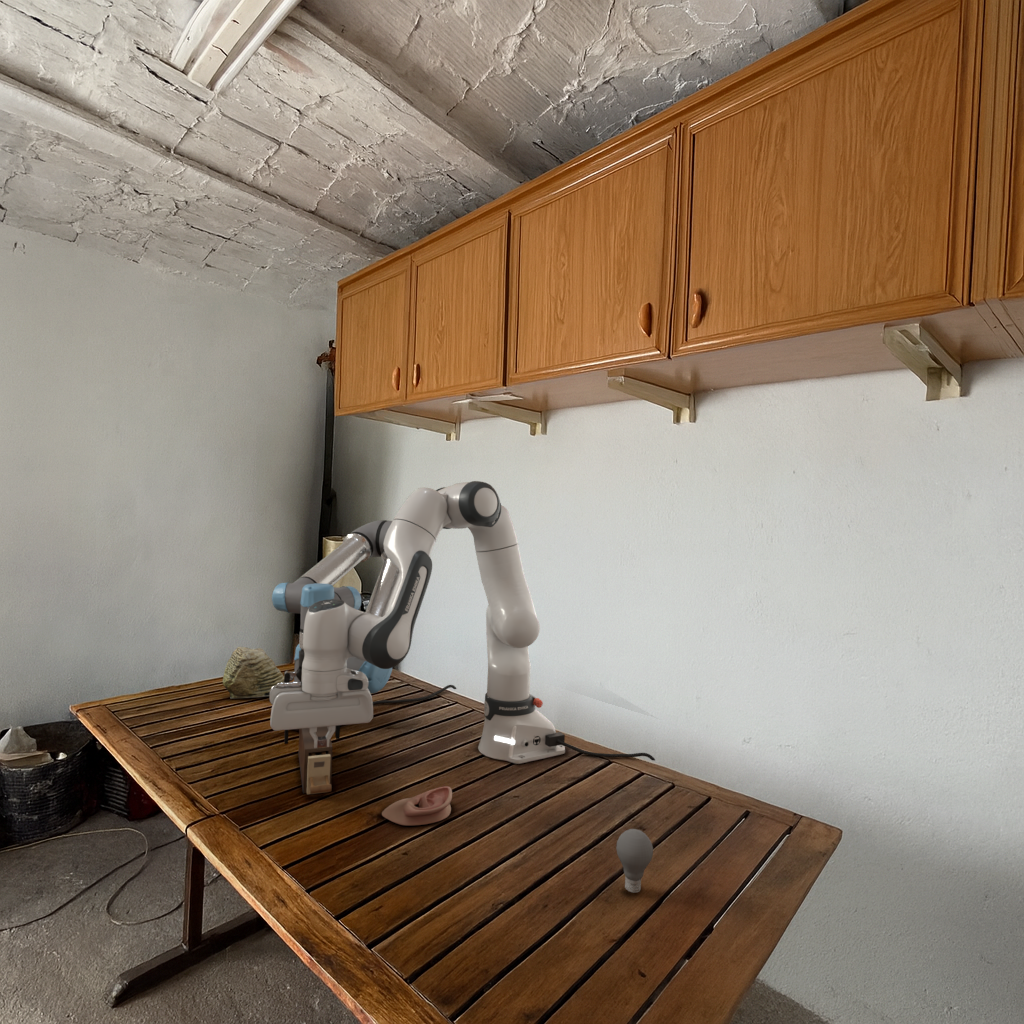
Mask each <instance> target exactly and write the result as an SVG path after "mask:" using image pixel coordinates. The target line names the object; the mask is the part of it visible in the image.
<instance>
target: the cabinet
mask: <svg viewBox="0 0 1024 1024" xmlns="http://www.w3.org/2000/svg"><path fill="white" fill-rule="evenodd" d="M328 731H329V730H328V727H327V726H325V727H317V732H315V733H316V735H317V737H323V736H326V734H327V733H328ZM322 751H325V752H326V754H330V756H331V760H330V784H331V785H332V769H333V744H332V739H331V738H330V741H329V747H323V748H314V739H313V738H312V736H311V734H310V732H309V728H302V729H299V731H298V762H299V771H300V780H301V788H302V789H301V790H302V794H307V769H308V756H309V753H312V752H322Z"/></svg>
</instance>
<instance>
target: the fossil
mask: <svg viewBox="0 0 1024 1024" xmlns="http://www.w3.org/2000/svg"><path fill="white" fill-rule="evenodd" d="M222 676H223V677H222V685H223V687H224V688H225V690H226V691H228V693H229V698H230V699H250V698H264V697H269V693H270V690H271V688H272V687H273V686H275V685H278V683H281V682H283V681H284V674H283V673H282V672H281V669H279V668H278V667H277V665H276V663H275V662H274V660H273V659H272V658H271V657H270V656H269V655H268V654H267V653H266V652H265V650H264V649H263V648H260V647H258V648H251V647H247V646H246V647H245V646H238V647H237V648H236V649H235V650H233V651H232V653H231V656H230V657H229V659H228V660H227V663H226V666H225V668H224V671H223V675H222ZM275 688H278V687H275Z"/></svg>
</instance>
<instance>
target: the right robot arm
mask: <svg viewBox="0 0 1024 1024" xmlns="http://www.w3.org/2000/svg"><path fill="white" fill-rule="evenodd" d="M391 521H392V523H391V525H390V527H389V528H388V531H387V533H386V535H385V539H384V543H383V545H384V550H385V553H386V555H387V557H388V559H389V560H390V561H391V562H392V563H393V564H394V565H395V566H396V567H397V568H398V569H399V571H400V575H401V578H400V583H399V586H398V588H397V591H396V594H395V596H394V599H393V602H392V605H391V607H390V610H389V612H388V613H387V614H386V615H385V616H383V617H380V616H376V615H373V614H370V613H366V611H362V610H360V609H358V610H357V609H354V608H352V607H350V606H349V605H347V604H346V603H345V602H344V601H343V600H339V599H330V600H322V601H319V602H316V603H314V604H313V605H311V606H310V607H309V609H308V611H307V614H306V617H305V623H304V632H303V648H304V660H303V663H302V681H295V682H294V681H290V682H287V683H285V682H281V683H278V685H275V686H273V687H272V688H271V690H270V693H269V696H268V698H269V699H268V700H269V701H268V702H269V703H270V704H271V710H270V717H269V719H270V720H269V726H270V728H271V729H272V730H273V731H274V732H275V731H278V732H279V731H285V730H288V731H289V730H292V729H302V728H309V732H310V734H311V736H312V738H313V739H314V748H323V747H329V741H330V739H331V738H332V737H333V736H334V735H335V728H336V726H337V725H340V726H347V725H357V724H369V723H371V721H372V720H373V718H374V705H373V702H374V701H373V696H372V694H370V691H369V689H368V678H367V676H366V675H365V674H364V673H363V672H360V671H356V670H352V669H348V668H347V659H348V658H349V657H355V658H358V659H361V660H364V661H367V662H369V663H371V664H373V665H375V666H377V667H379V668H381V669H389V668H392V667H393V668H395V667H397V666H398V665H399V664H401V663H402V662H403V661H404V659H405V658H406V657H407V655H408V654H409V652H410V649H411V646H412V640H413V634H414V629H415V625H416V621H417V619H418V615H419V613H420V609H421V607H422V604H423V601H424V599H425V598H424V597H425V595H426V592H427V589H428V586H429V583H430V579H431V576H432V572H433V560H432V559H431V557H432V553H433V549H434V546H435V544H436V542H437V541H438V538H439V535H440V533H441V531H442V530H443V529H444V530H450V529H451V530H452V529H454V530H455V529H457V530H460V529H461V530H462V529H467V528H468V530H469V531H470V533H471V534H472V537H473V545H474V550H475V555H476V559H477V560H476V561H477V565H478V570H479V576H480V581H481V583H482V587H483V590H484V593H485V597H486V599H487V603H488V605H487V607H486V611H485V628H486V629H485V630H486V632H485V633H486V651H487V682H486V693H485V694H484V702H483V714H484V715H483V716H484V720H483V728H482V733H481V736H480V740H479V743H478V745H477V749H478V752H479V753H481V754H482V755H483V756H486V757H487V758H491V759H494V760H499V761H506V762H509V763H512V764H516V765H517V764H518V765H519V764H524V763H529V762H533V761H538V760H542V759H547V758H552V757H557V756H560V755H563V754H565V753H566V748H568V749H570V750H572V751H575V752H577V753H579V754H583V755H586V756H591V757H600V758H637V757H646V758H648V759H650V760H651V761H654V762H655V761H656V759H655V757H654V756H653V755H651V754H650V753H647V752H636V753H601V752H593V751H587V750H583V749H581V748H579V747H576V746H575V745H572V744H570V743H567V742H565V738H566V734H564V733H562V732H561V731H556V728H555V725H554V723H553V722H552V721H551V720H549V718H547V716H545V715H544V714H543V713H541V712H540V711H539V710H538V709H540V708H542V706H543V704H544V703H543V700H542V699H540V698H539V697H535V696H534V695H532V694H531V692H530V691H531V674H532V673H531V671H532V670H531V669H532V665H531V660H530V654H529V646H531V645H533V644H534V643H535V641H536V640H537V639H538V636H539V634H540V629H541V628H540V621H539V618H538V615H537V611H536V608H535V607H536V606H535V604H534V601H533V597H532V593H531V590H530V587H529V583H528V581H527V578H526V575H525V574H526V573H525V570H524V566H523V562H522V561H523V560H522V556H521V551H520V546H519V542H518V537H517V533H516V529H515V526H514V523H513V520H512V517H511V515H510V512H509V511H508V509H507V507H505V506H504V505H502V503H501V500H500V496H499V494H498V493H497V490H496V489H495V488H494V487H493V486H492V485H491V484H489V483H487V482H485V481H479V480H473V481H465V482H457V483H453V484H452V485H448V486H446V487H445V486H444V487H440V488H437V489H434V488H430V487H418V488H416V489H414V490H413V491H412V492H411V493H410V495H408V496H407V498H406V500H405V501H404V502H403V504H402V505H401V506H400V508H399V509H398V511H397V512H396V514H395V515H394V517H393V519H392V520H391ZM393 668H392V669H393ZM275 687H278V688H275ZM537 708H538V709H537ZM325 726H328V733H327V734H326V736H323V737H317V735H316V733H315V732H317V727H325Z"/></svg>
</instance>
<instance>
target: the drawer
mask: <svg viewBox="0 0 1024 1024" xmlns="http://www.w3.org/2000/svg"><path fill="white" fill-rule="evenodd" d="M330 760H331V756H330V754H326V752H325V751H322V752H312V753H309V756H308V769H307V793H306V795H315V794H322V793H330V792H332V788H333V787H332V783H331V784H330Z"/></svg>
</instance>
